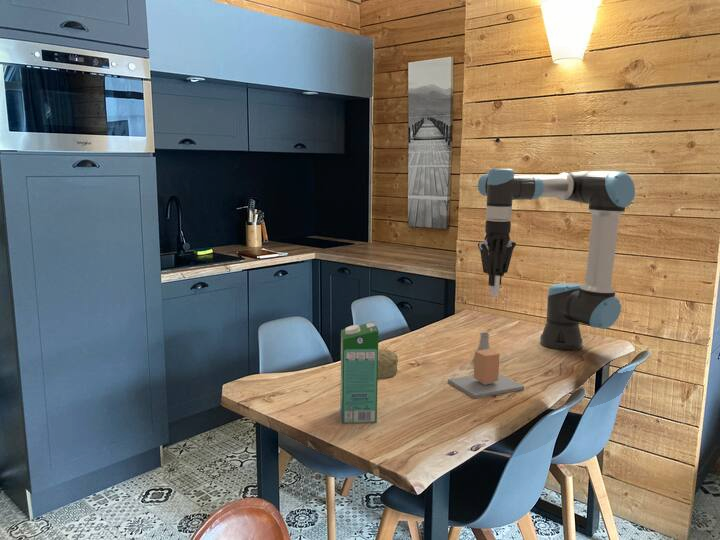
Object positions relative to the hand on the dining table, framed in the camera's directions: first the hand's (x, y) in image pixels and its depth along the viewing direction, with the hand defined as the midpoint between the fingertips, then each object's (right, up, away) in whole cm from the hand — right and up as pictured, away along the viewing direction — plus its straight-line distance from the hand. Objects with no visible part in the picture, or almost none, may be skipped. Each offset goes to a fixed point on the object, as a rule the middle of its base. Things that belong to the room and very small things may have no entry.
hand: (494, 295), depth 189 cm
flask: (+1, -24, +19) cm, 31 cm away
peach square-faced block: (-3, -25, -3) cm, 26 cm away
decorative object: (-34, -25, +7) cm, 43 cm away
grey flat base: (-3, -27, -3) cm, 28 cm away
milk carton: (-42, -31, -26) cm, 59 cm away
